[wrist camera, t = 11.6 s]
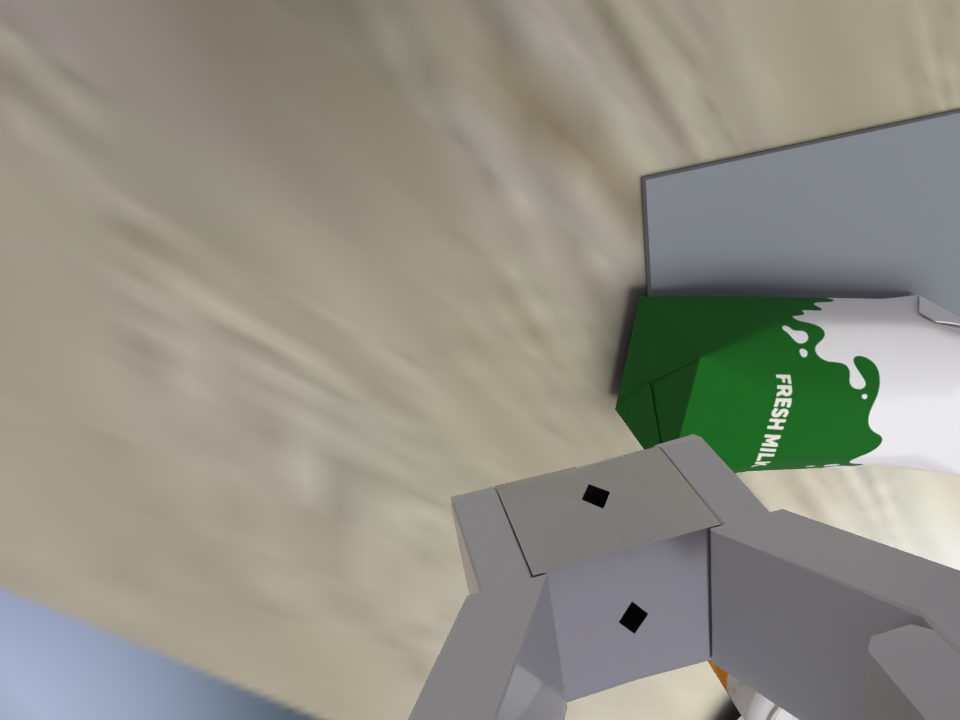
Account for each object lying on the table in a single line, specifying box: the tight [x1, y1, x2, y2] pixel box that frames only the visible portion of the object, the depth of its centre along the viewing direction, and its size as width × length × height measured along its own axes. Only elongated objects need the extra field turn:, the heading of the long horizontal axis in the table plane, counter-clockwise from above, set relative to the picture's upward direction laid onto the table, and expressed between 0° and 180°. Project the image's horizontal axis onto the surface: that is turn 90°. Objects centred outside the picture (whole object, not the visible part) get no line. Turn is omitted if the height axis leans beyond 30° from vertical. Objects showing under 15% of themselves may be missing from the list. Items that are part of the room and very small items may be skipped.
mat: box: [641, 109, 960, 317], centre depth 46 cm, size 16×22×1 cm
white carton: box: [615, 295, 960, 475], centre depth 43 cm, size 9×9×20 cm
